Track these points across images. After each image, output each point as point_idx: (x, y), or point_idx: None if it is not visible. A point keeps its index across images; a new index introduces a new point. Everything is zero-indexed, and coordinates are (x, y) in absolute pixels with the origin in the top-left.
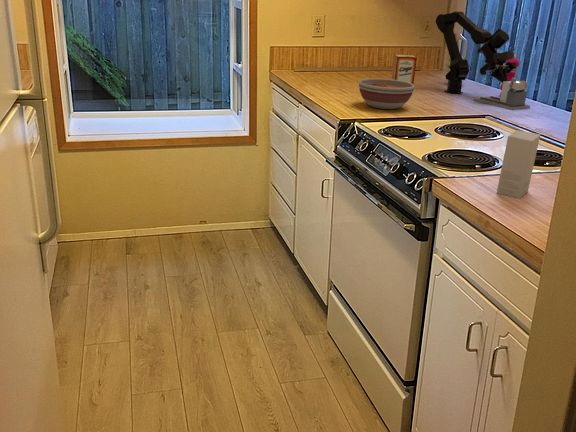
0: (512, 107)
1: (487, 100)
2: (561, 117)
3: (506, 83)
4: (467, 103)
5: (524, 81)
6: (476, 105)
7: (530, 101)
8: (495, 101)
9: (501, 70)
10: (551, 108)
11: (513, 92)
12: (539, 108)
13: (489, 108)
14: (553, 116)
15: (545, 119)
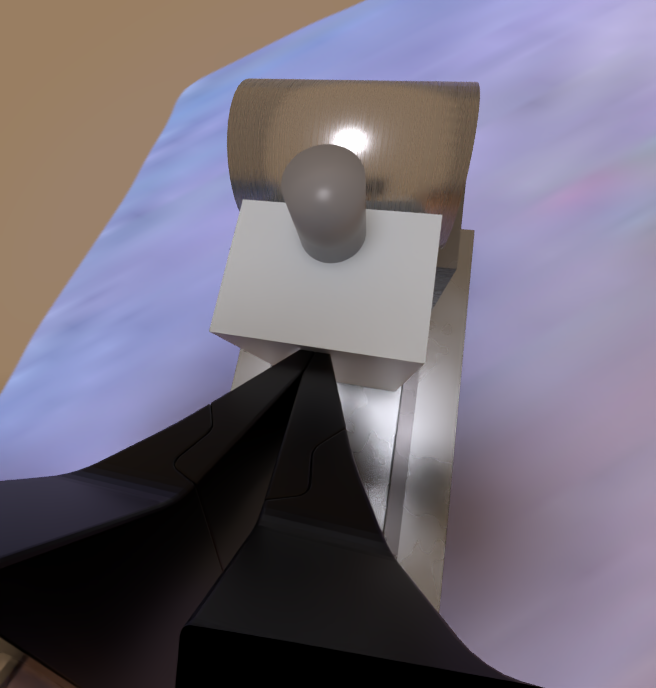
0: (473, 230)
1: (418, 507)
2: (361, 15)
3: (431, 295)
4: (630, 610)
5: (263, 84)
6: (615, 496)
7: (29, 354)
8: (412, 423)
9: (342, 570)
10: (153, 168)
11: (463, 195)
12: (221, 196)
13: (602, 358)
14: (380, 41)
15: (513, 11)
